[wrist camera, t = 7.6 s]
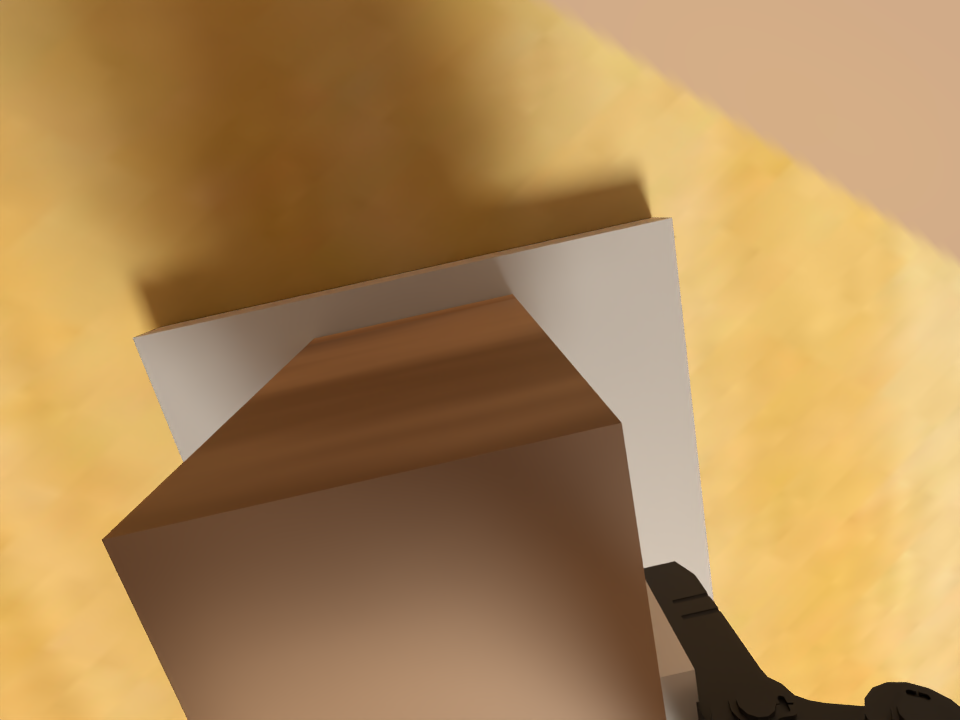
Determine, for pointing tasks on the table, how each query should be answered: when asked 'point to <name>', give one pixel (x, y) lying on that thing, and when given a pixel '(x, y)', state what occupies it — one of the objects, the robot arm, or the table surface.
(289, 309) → the board
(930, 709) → the robot arm
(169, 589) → the block
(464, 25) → the table surface
